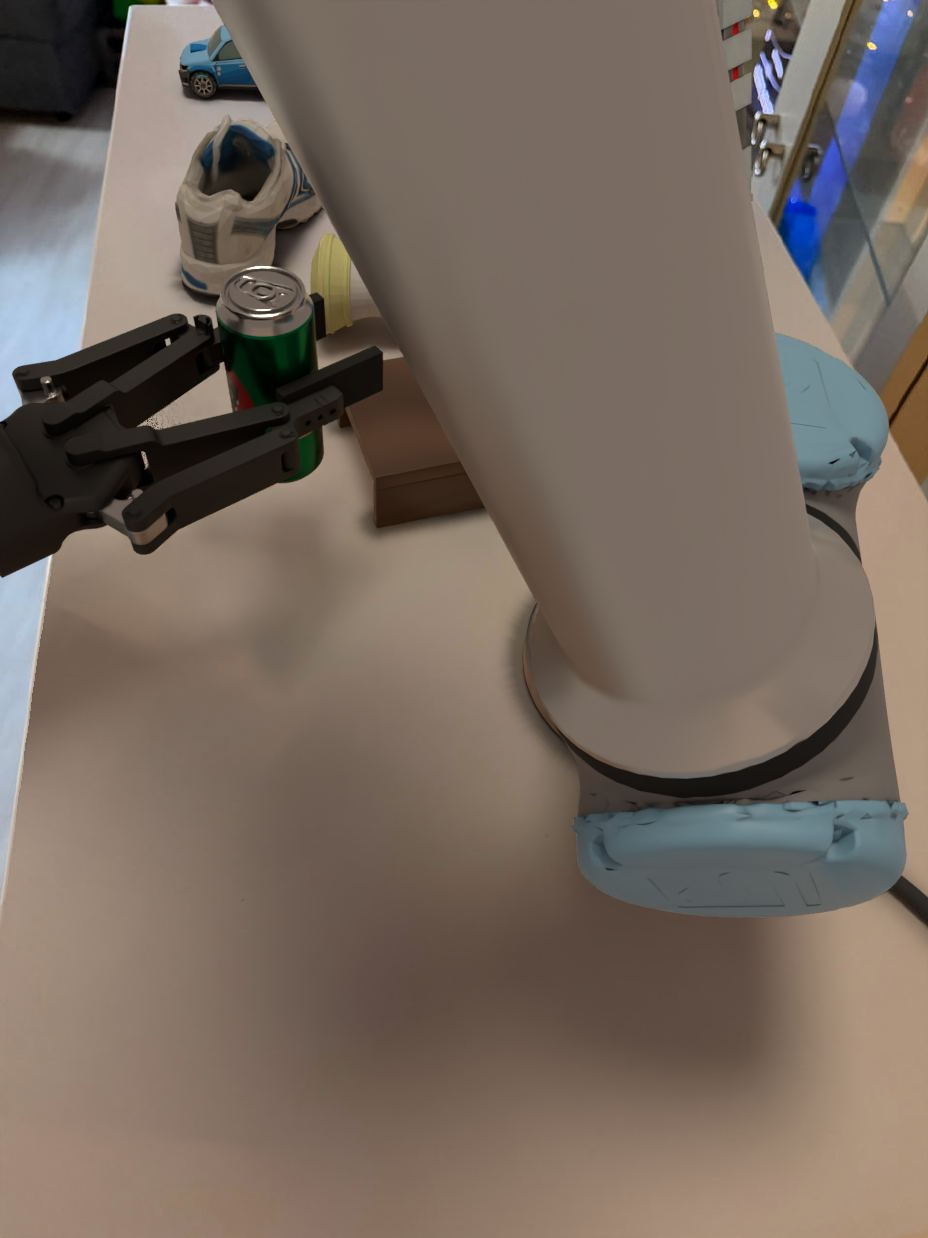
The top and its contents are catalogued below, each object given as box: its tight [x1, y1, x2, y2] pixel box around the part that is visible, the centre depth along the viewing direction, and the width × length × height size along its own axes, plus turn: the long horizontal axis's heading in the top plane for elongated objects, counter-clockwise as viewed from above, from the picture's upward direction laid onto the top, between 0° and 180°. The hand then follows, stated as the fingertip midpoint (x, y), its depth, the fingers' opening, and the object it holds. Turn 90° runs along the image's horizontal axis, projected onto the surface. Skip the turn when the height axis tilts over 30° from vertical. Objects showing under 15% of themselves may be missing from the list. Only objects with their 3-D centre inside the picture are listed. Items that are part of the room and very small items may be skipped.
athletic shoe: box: [174, 114, 323, 298], centre depth 80 cm, size 10×23×12 cm, turn 174°
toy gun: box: [716, 0, 754, 203], centre depth 79 cm, size 2×24×15 cm
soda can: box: [215, 265, 325, 484], centre depth 53 cm, size 5×5×12 cm
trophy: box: [310, 232, 382, 335], centre depth 74 cm, size 8×8×30 cm
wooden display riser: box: [336, 356, 485, 529], centre depth 65 cm, size 11×11×8 cm
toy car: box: [177, 24, 260, 98], centre depth 96 cm, size 6×12×6 cm, turn 97°
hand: (349, 340), depth 54 cm, fingers closed on soda can, 5 cm apart
